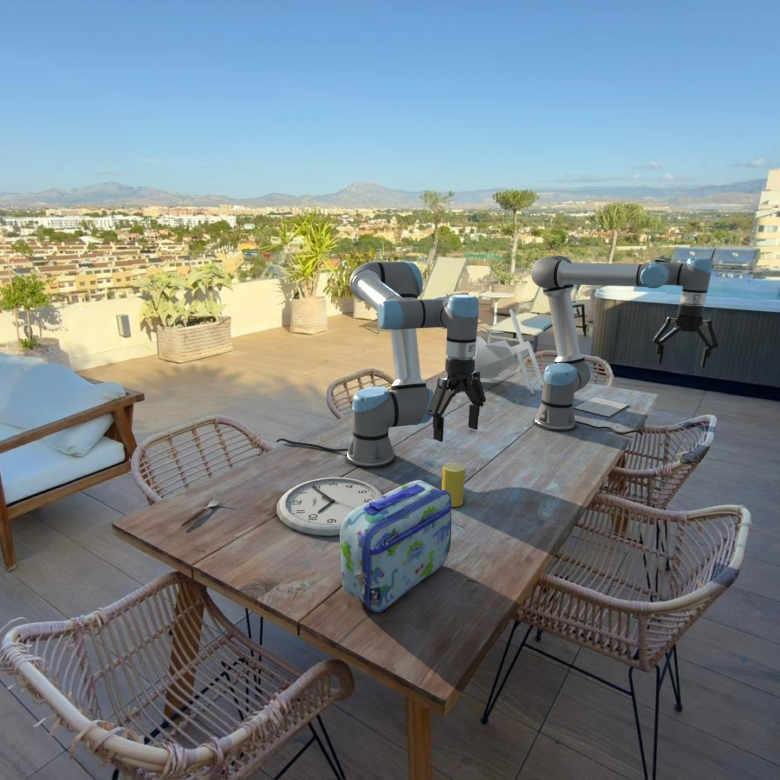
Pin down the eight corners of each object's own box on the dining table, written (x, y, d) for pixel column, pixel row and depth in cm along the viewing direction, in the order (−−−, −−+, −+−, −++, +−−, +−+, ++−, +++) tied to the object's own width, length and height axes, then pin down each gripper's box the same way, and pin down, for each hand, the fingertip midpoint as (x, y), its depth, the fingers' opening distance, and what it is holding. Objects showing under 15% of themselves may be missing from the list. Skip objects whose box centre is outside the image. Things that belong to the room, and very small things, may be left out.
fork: (176, 526, 131) (176, 519, 130) (217, 497, 145) (217, 491, 145) (185, 528, 130) (184, 521, 130) (225, 499, 145) (224, 492, 144)
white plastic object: (478, 423, 260) (457, 400, 235) (460, 349, 282) (438, 321, 257) (551, 399, 247) (536, 372, 223) (525, 323, 270) (510, 291, 245)
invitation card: (608, 416, 214) (573, 407, 224) (608, 416, 214) (573, 408, 224) (628, 404, 229) (594, 396, 238) (628, 405, 229) (594, 397, 238)
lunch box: (369, 626, 100) (370, 530, 93) (334, 598, 107) (332, 507, 101) (455, 567, 117) (460, 483, 111) (419, 547, 124) (423, 467, 118)
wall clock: (392, 527, 129) (268, 531, 127) (391, 533, 130) (269, 537, 127) (383, 473, 158) (282, 475, 155) (383, 478, 158) (282, 480, 156)
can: (436, 498, 147) (438, 463, 144) (455, 494, 150) (457, 460, 147) (448, 508, 142) (450, 473, 139) (467, 504, 145) (469, 469, 141)
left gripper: (436, 367, 123) (432, 450, 129) (502, 352, 139) (496, 427, 145) (414, 360, 128) (412, 440, 135) (480, 347, 144) (475, 419, 150)
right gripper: (653, 303, 179) (643, 363, 185) (737, 308, 171) (723, 370, 178) (650, 300, 185) (640, 359, 192) (730, 305, 178) (718, 365, 184)
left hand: (455, 434), depth 140 cm, fingers open, 13 cm apart
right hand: (680, 364), depth 185 cm, fingers open, 13 cm apart
